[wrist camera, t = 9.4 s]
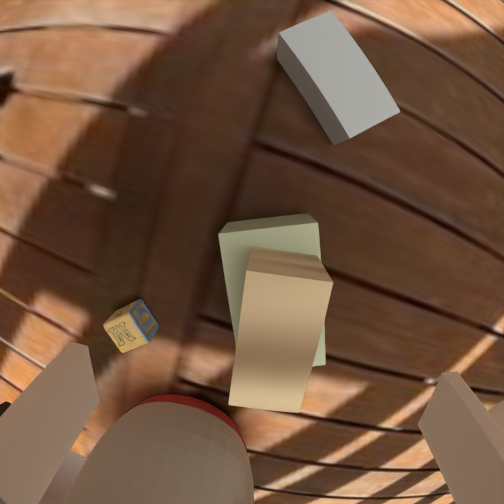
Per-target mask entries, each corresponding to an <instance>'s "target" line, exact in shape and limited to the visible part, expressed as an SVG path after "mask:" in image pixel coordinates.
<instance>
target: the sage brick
mask: <svg viewBox="0 0 504 504" xmlns="http://www.w3.org/2000/svg"><path fill="white" fill-rule="evenodd" d="M218 236H219V243H220V249H221V256H222V263H223V269H224V276H225V282H226V288H227V295H228V301H229V307H230V313H231V319H232V325H233V331H234V337H235V343H236V344H237V337H238V329H239V322H240V314H241V307H242V300H243V292H244V285H245V277H246V270H247V266H248V261H249V257H250V252H251V247H252V246H254V247H261V248H268V249H275V250H282V251H289V252H296V253H303V254H310V255H317V256H318V258H319V260H320V261H321V254H320V241H319V229H318V222H317V221H316V220H315V219H313V218H312V217H311V216H310V215H309V214H308V213H306V214H296V215H287V216H278V217H269V218H260V219H251V220H243V221H235V222H228V223H227V224H226V225H225V226H224V228H223V229H222V230H221V231H220V232H219V234H218ZM319 365H325V328H324V324H323V328H322V332H321V336H320V340H319V343H318V347H317V351H316V355H315V358H314V362H313V366H319Z"/></svg>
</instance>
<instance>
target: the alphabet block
mask: <svg viewBox="0 0 504 504" xmlns="http://www.w3.org/2000/svg"><path fill="white" fill-rule="evenodd" d="M103 326H104V328H105V330H106V331H107V333H108V334H109V336H110V337H111V338H112V340H113V341H114V343H115V344H116V346H117V347H118V348H119V350H120V351H121V352H122V353H125V352H127V351H130V350H132V349H135V348H137V347H139V346H142V345H144V344H147V343H149V342H150V341H151V339H152V338H153V336H154V334H155V333H156V331H157V330H158V328H159V325H158V323H157V321H156V320H155V319H154V317H153V316H152V314H151V312H150V311H149V309H148V308H147V306H146V305H145V303H144V302H143V300H142V299H139V300H137V301H135V302H133V303H131V304H129V305H127V306H125V307H123V308H121V309H119V310H117V311H115V313H114V314H113V315H112V316H111V317H110V318H109V319H108V320H107V321H106V322H105V323H104V324H103Z"/></svg>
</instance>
